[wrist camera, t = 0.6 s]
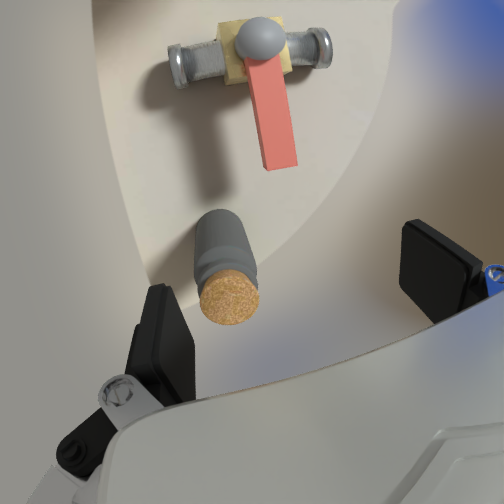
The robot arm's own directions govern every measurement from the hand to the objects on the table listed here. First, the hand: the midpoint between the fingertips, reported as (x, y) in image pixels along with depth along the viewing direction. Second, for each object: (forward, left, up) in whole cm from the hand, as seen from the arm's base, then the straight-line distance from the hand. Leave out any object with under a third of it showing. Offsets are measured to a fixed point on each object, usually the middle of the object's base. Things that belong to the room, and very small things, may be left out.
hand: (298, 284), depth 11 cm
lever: (-8, +4, -19) cm, 21 cm away
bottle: (+7, -3, -25) cm, 27 cm away
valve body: (-13, +4, -25) cm, 28 cm away
